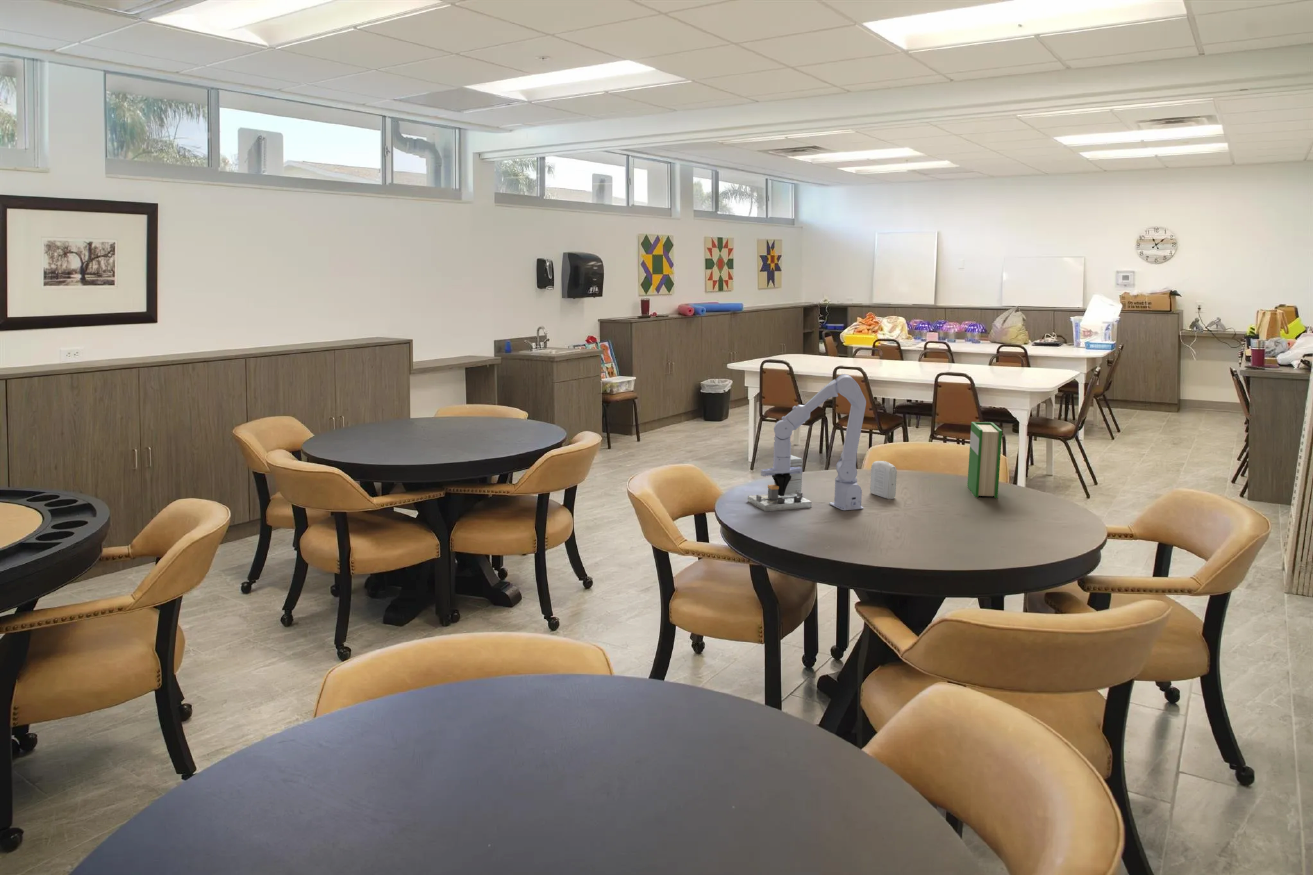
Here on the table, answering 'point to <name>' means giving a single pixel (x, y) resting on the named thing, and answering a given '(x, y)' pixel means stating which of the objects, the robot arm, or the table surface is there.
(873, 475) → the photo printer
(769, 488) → the fader tab
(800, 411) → the robot arm
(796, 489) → the supplement box
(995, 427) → the hardback book
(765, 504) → the console
